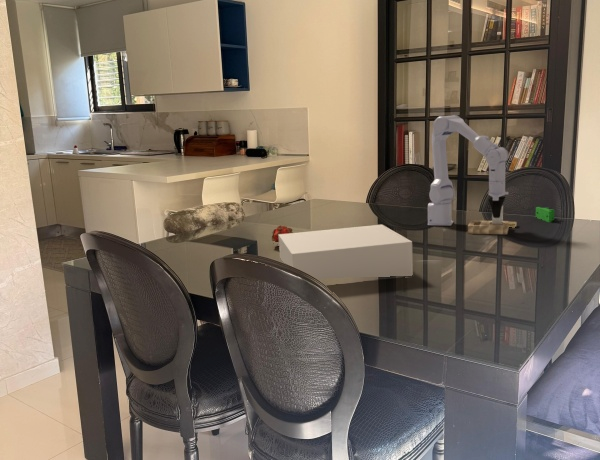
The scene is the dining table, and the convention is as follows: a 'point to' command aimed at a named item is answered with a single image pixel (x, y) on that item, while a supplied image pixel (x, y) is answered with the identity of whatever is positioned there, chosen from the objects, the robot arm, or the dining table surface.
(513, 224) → the tan rectangular block
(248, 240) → the dining table surface
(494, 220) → the square bit
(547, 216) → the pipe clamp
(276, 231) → the dragon fruit
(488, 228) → the socket block
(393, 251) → the box
